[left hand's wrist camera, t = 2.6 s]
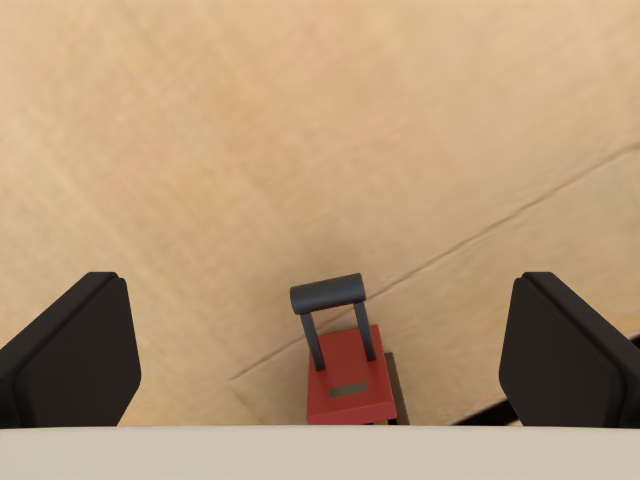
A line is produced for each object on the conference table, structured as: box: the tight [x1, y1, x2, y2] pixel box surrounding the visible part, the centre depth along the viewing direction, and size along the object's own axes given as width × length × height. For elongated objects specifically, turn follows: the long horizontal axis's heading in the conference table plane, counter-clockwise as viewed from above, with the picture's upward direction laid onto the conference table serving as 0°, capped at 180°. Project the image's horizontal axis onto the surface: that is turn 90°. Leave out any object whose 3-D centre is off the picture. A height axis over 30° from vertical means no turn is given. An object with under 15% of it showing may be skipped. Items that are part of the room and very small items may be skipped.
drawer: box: [290, 273, 397, 425], centre depth 29 cm, size 20×5×8 cm, turn 14°
